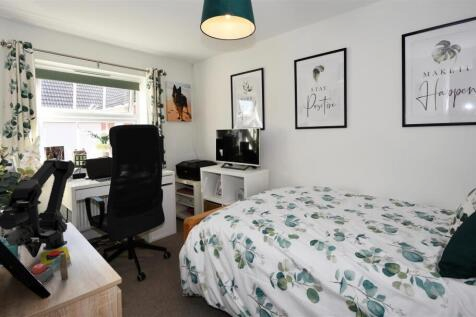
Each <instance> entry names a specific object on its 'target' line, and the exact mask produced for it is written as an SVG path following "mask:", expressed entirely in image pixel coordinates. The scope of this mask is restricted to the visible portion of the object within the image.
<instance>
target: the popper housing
mask: <svg viewBox="0 0 476 317" xmlns="http://www.w3.org/2000/svg"><path fill="white" fill-rule="evenodd" d="M30 272H31V273H32V274H33V272H32V270H31V271H30ZM54 276H55V275H54V271H53V269H52V267H50V266H46V271H45V272H44V273H42V274H41V275H34V277H35V278H36V279H37V280H39V281H40V282H41V283H42V284H43V285H44V284H45V283H47V282H48V281H49V280H51V279H52V278H53V277H54Z"/></svg>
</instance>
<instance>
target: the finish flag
mask: <svg viewBox="0 0 476 317" xmlns="http://www.w3.org/2000/svg"><path fill="white" fill-rule="evenodd" d="M59 265H60V269H59V270H60V279H61V281H65V280H68V279H69V273H68V266H67V262H66V253H60V254H59V256H58V257H57V258H56V259H54V260H53V261H52V269H55V268H56V267H57V266H59Z"/></svg>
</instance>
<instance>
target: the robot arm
mask: <svg viewBox="0 0 476 317" xmlns="http://www.w3.org/2000/svg"><path fill="white" fill-rule="evenodd" d="M75 169H76V164H75V163H74V161H73V160H71V159H70V160H69V159H67V160H66V159H65V160H63V159H61V160H59V159H54V158H53V159H45V160H44V161H43V163H42V165H41V166H40V167H39V169H37V171H36V172H34V174H33V175H32V177H30V179H28V180H27V181H25V182H22V183H19V185H17V186H16V187H15V188H14V189H13V191H12V193H11V197H10V199H9V200H8V204H7V207H6V208H7V209H4V210H3V211H2V213H3V214H1V215H0V228H2V229H3V230H7V231H8V230H11V231H9V232H7V233H5V234H4V235H3V237H4V238H6V241H7V242H8V243H7V242H6V243H7V244H8V245H9V247H21V246H23V247H25V248H26V250H27V251H28V253H29V254H30V256H31V257H32V258H36V257H37V256H38V255H39V252H40V249H41V246H42V244H45V245H44V246H43V247H42V249H46V250H47V249H50V250H54V249H58V248H61V247H63V245H65V244H67V243H68V241H67V240H65V239H64V233H65V232H66V231H67V229H68V224H67V223H66V222H65V221H63V218H64V217H63V215H62V213H61V207H62V204H63V201H64V200H63V199H64V194H65V190H66V186H67V182H68V180H69V179H70V177H71V176H73V173H74V171H75ZM52 176H53V182H52V186H51V190H50V193H49V198H48V201H47V205H46V210H44V211H43V212H40V213H39V207H38V205H41V203H42V201H40V200H39V199H40V197H41V195H42V194H43V189H42V188H43V186H44V185H45V183H47V181H48V180H49V178H50V177H52ZM15 228H16V229H15ZM12 229H14V230H12Z"/></svg>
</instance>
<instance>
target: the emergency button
mask: <svg viewBox="0 0 476 317" xmlns="http://www.w3.org/2000/svg"><path fill="white" fill-rule="evenodd" d="M60 253H66V262H67V267H71V266H72V263H73V262H72V260H71V255H70V251H69V249H68V247H67V246H60V247H59V248H57V249H50V250H46V251H44V252H41V253H39V254H40V255H39V257H40V258H39V259H40V260H39V261H40V264H46V266H50V267H52V261H53V260H54V259H56V258H57V257H58V256H59V254H60ZM53 270H54V271H56V270H60V265H59V266H57V267H56V268H55V269H53Z"/></svg>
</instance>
